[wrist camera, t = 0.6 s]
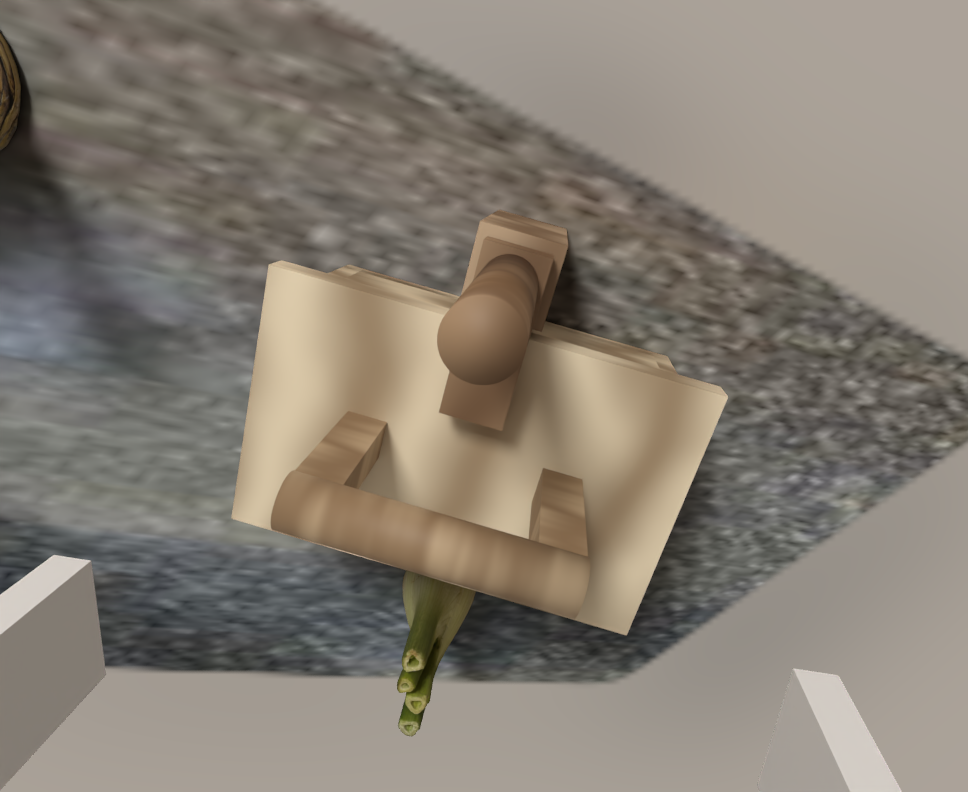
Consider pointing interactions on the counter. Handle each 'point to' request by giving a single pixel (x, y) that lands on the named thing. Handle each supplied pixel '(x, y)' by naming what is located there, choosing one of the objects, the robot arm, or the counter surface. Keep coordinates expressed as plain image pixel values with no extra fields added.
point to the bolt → (491, 331)
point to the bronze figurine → (8, 94)
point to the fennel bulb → (427, 639)
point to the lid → (465, 453)
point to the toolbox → (557, 245)
